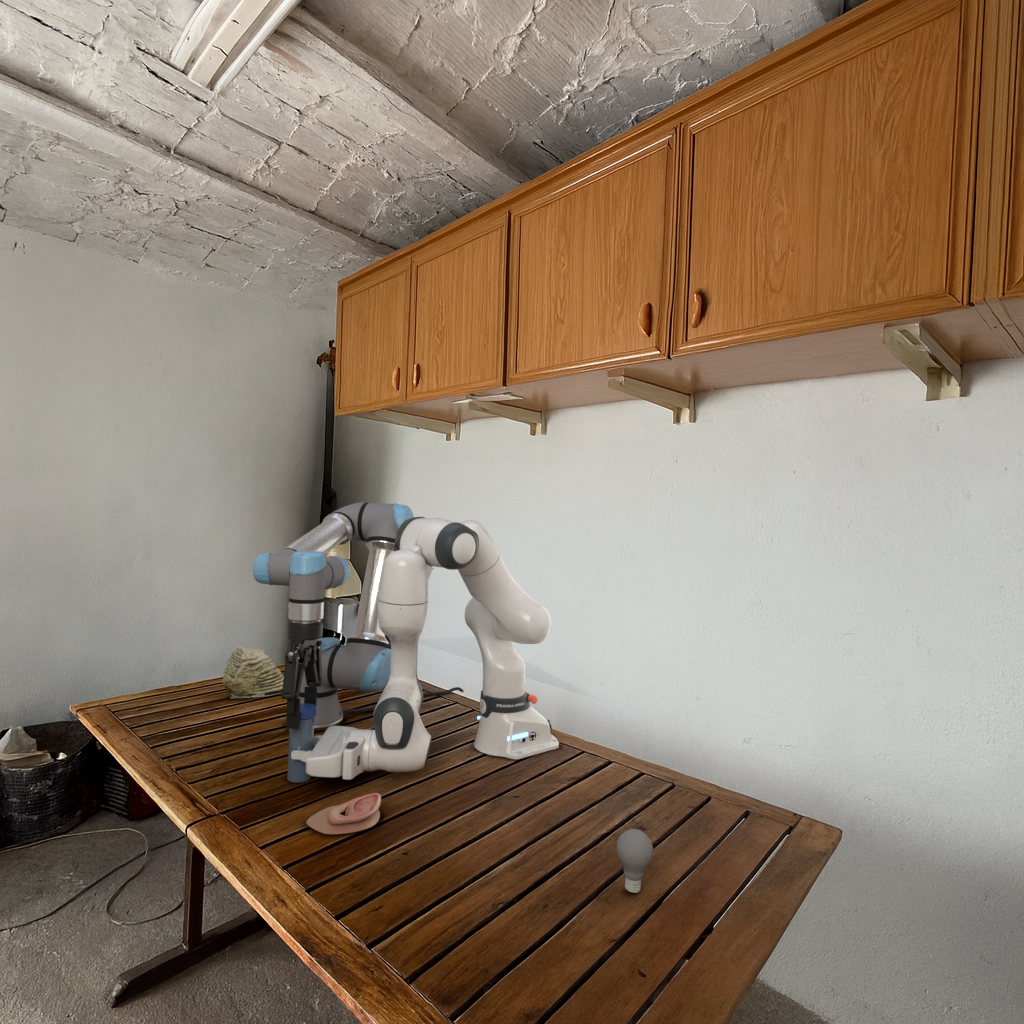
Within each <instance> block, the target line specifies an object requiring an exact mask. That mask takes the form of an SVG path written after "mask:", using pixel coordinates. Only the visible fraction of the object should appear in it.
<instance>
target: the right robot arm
mask: <svg viewBox="0 0 1024 1024" xmlns="http://www.w3.org/2000/svg"><path fill="white" fill-rule="evenodd" d="M396 550H397V551H396ZM434 567H435V568H443V569H445V570H449V571H451V570H453V571H455V570H456V571H458V573H459V575H460V577H461V579H462V581H463V583H464V585H465V586H466V589H467V590H468V592H469V594H470V595H471V596H472V598H470V599H469V600H468V602H467V604H466V605H465V609H464V621H465V624H466V626H467V628H468V629H469V630H470V631H471V632H472V633H473V635H474V637H475V639H476V642H477V644H478V648H479V652H480V656H481V660H482V689H481V691H480V699H479V713H480V715H477V717H476V719H477V720H479V722H478V729H477V732H476V736H475V739H474V742H473V747H474V748H475V750H477V751H478V752H480V753H483V754H485V755H489V756H494V757H503V758H507V759H510V760H520V759H525V758H528V757H531V756H536V755H538V754H542V753H543V754H544V753H546V752H550V751H553V750H556V749H559V748H560V742H559V740H558V739H557V737H556V736H555V735H553V734H552V730H553V729H552V728H553V726H552V724H551V721H550V719H548V718H546V717H545V716H544V715H542V714H541V713H540V712H539V711H538V710H536V708H534V707H532V705H531V704H533V705H536V704H537V703H538V698H539V697H537V695H535V694H533V693H531V694H530V693H528V692H527V691H526V690H525V689H526V670H527V669H526V668H527V667H526V663H525V660H524V659H523V657H522V656H521V655H520V654H519V653H518V652H517V650H516V649H515V646H514V643H516V644H520V645H539V644H541V643H543V642H544V641H545V640H546V639H547V637H548V635H549V634H550V631H551V628H552V618H551V615H550V614H551V613H550V612H549V610H548V609H547V608H546V607H545V606H543V605H542V604H540V603H539V602H537V601H535V600H534V599H533V598H532V597H531V596H530V595H529V594H528V593H527V592H526V591H525V590H524V589H523V588H522V587H521V586H520V585H519V584H518V582H517V581H516V580H515V579H514V577H513V576H512V574H511V573H510V571H509V569H508V567H507V565H506V563H505V561H504V559H503V557H502V555H501V553H500V551H499V549H498V547H497V545H496V543H495V542H494V540H493V538H492V536H491V535H490V533H489V532H488V531H487V529H486V528H485V526H483V524H481V523H480V522H479V521H477V520H471V519H469V520H464V521H463V520H462V521H461V522H457V521H456V522H454V521H451V520H448V519H444V518H438V517H437V518H436V517H435V518H434V517H424V516H414V517H413V518H410V519H407V520H406V521H404V522H403V523H402V524H401V526H400V527H399V529H398V531H397V534H396V538H395V544H394V552H392V553H390V554H389V555H388V556H387V557H386V559H385V561H384V564H383V568H382V572H381V577H380V583H379V591H378V606H377V610H378V621H379V627H380V629H381V631H382V632H383V633H384V634H385V637H387V638H388V639H389V644H390V650H391V662H390V676H389V679H388V681H387V683H386V685H385V686H384V687H383V688H382V691H381V695H380V697H379V699H378V701H377V703H376V705H375V710H374V711H373V716H372V717H373V718H372V719H373V727H374V728H373V729H365V728H361V729H360V728H357V727H354V726H346V725H339V726H330V727H328V729H327V730H325V731H324V733H323V734H322V735H321V734H320V735H314V744H313V750H312V751H302V750H301V749H294V750H293V751H292V753H291V758H292V759H298V760H301V761H303V762H306V773H307V774H308V775H310V776H312V777H316V778H333V779H334V778H340V777H341V778H342V780H346V781H350V780H353V779H355V777H356V776H358V775H360V774H362V773H364V772H374V771H381V770H382V771H385V772H388V773H408V772H409V773H411V772H416V771H420V770H423V769H424V768H425V767H426V766H427V763H428V761H429V757H430V752H431V749H432V744H433V743H432V742H433V739H432V735H431V734H430V733H429V732H428V730H427V729H426V727H425V725H424V723H423V721H422V718H421V716H420V713H419V712H420V710H421V708H422V706H423V703H424V696H423V693H424V690H423V688H422V686H421V683H420V681H419V676H418V653H419V650H418V649H419V641H420V637H421V635H422V634H423V630H424V627H425V623H426V619H427V615H428V605H429V579H430V576H431V574H432V572H433V570H434Z"/></svg>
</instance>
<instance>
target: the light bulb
mask: <svg viewBox="0 0 1024 1024" xmlns="http://www.w3.org/2000/svg"><path fill="white" fill-rule="evenodd" d="M615 849H616V854H617V857H618V859H619V861H620V863H621V865H622V867H623V873H624V874H623V875H624V876H625V878H624V888H625V890H627V891H628V892H630V893H634V894H635V893H639V892H640V891H641V889H642V887H641V886H642V879H643V877H644V875H645V871H646V868H647V867H648V866H649V864H650V863H651V861H652V859H653V855H654V847H653V843H652V841H651V838H649V836H648V835H647V834H646V833H645V832H643V831H642V830H641V829H636V828H629V829H627V830H625V831H623V832H622V833H621V834H620V835H619V837H618V839H617V841H616V847H615Z"/></svg>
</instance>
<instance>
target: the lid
mask: <svg viewBox="0 0 1024 1024" xmlns="http://www.w3.org/2000/svg"><path fill="white" fill-rule="evenodd" d="M314 716H316V705H314V704H310V703H300V720H303V719H309V718H312V717H314Z"/></svg>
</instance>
